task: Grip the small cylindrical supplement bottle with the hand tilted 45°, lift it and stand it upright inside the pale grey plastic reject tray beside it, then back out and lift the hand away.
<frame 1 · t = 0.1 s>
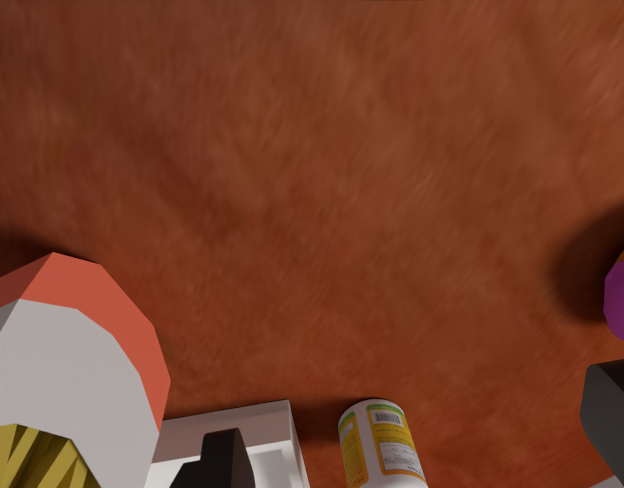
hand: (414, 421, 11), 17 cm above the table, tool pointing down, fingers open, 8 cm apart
reject tray: (209, 479, 39), on the table
supplement bottle: (370, 417, 37), on the table
french fries container: (103, 306, 30), on the table
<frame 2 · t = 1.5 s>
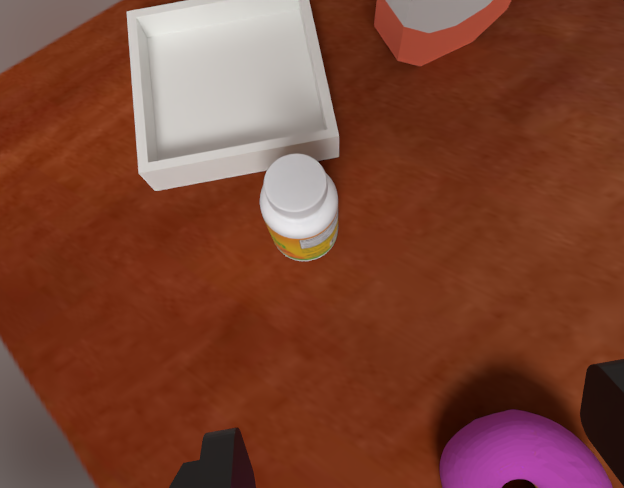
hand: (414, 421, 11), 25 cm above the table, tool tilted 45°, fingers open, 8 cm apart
donut: (512, 486, 33), on the table
reject tray: (235, 95, 42), on the table
supplement bottle: (305, 231, 39), on the table
french fries container: (435, 40, 43), on the table
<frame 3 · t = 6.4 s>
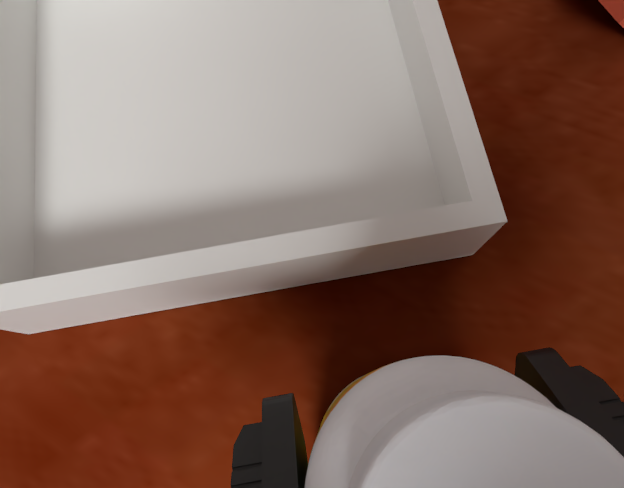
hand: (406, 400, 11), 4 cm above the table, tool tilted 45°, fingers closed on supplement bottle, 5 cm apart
reject tray: (225, 103, 19), on the table
supplement bottle: (399, 455, 15), on the table, touching gripper
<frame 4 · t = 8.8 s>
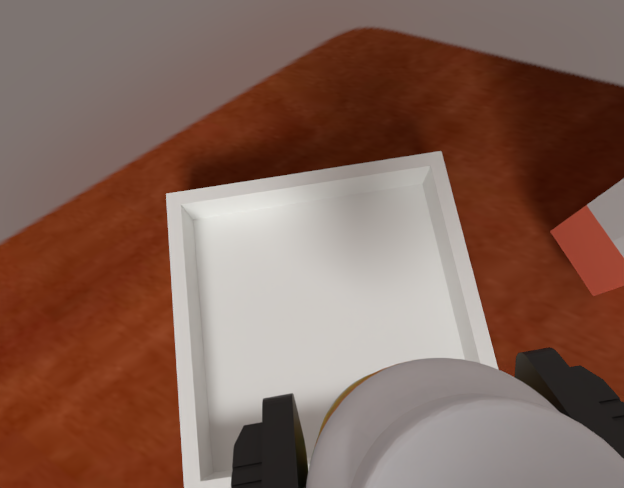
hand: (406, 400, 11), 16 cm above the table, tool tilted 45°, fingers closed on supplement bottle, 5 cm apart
reject tray: (326, 318, 28), on the table
supplement bottle: (400, 456, 15), point 11 cm above the table, touching gripper
when the fingers open (6 cm above the table, at t = 11.5 s): supplement bottle drops 1 cm, resting on reject tray.
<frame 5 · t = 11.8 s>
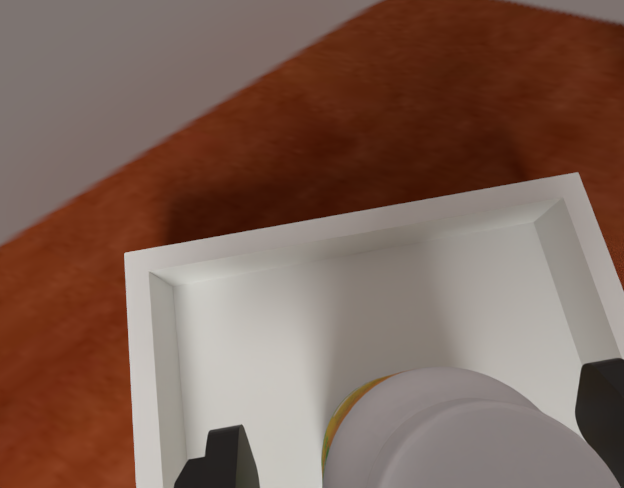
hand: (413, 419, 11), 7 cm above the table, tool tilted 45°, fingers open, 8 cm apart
reject tray: (391, 447, 17), on the table
supplement bottle: (398, 456, 16), point 1 cm above the table, touching reject tray
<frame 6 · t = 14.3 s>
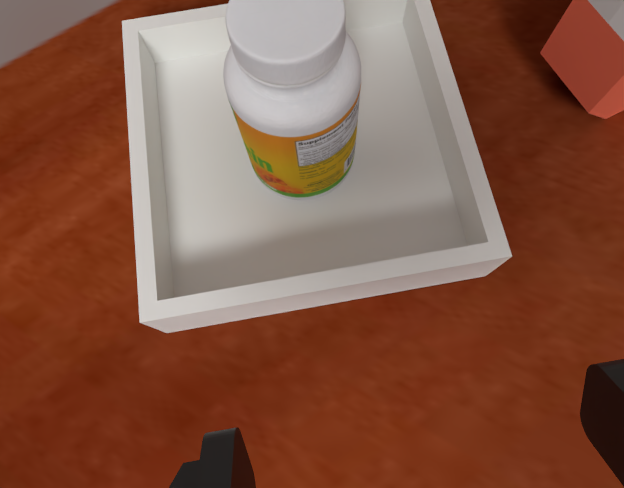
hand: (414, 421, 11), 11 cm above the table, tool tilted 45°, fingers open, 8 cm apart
reject tray: (301, 161, 26), on the table
supplement bottle: (303, 157, 25), point 1 cm above the table, touching reject tray
french fries container: (621, 76, 27), on the table
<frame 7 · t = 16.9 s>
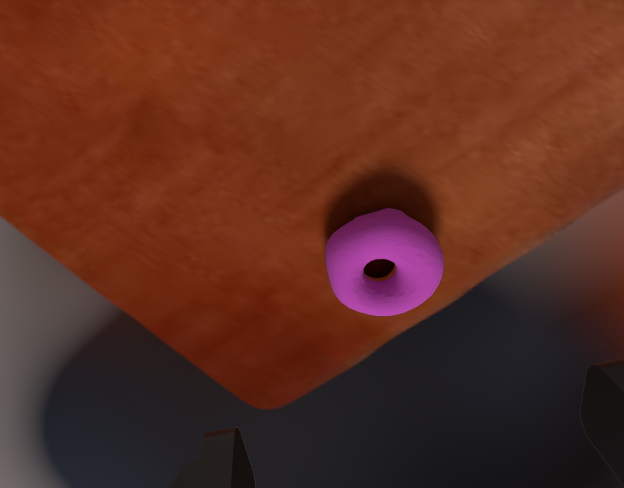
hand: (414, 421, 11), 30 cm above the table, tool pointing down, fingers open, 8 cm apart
donut: (378, 251, 44), on the table
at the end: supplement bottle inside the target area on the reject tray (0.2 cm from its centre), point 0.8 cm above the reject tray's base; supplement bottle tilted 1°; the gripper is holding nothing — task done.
